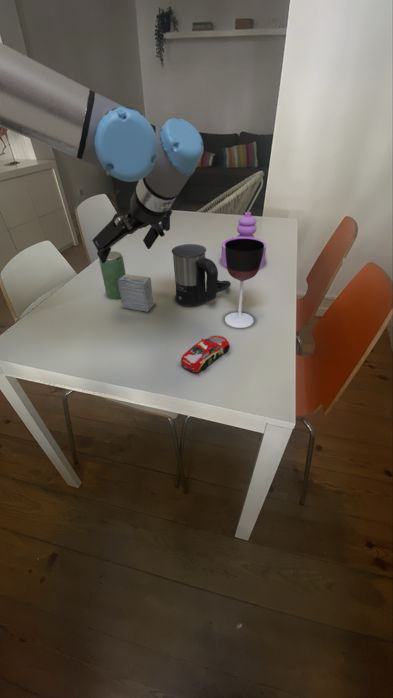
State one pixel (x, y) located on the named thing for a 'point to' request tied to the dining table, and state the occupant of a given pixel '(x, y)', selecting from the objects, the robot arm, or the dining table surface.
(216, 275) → the milk frother
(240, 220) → the purple rounded knobbed piece
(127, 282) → the medicine box
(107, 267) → the green can
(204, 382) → the dining table surface
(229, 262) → the wineglass
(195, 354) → the race car
